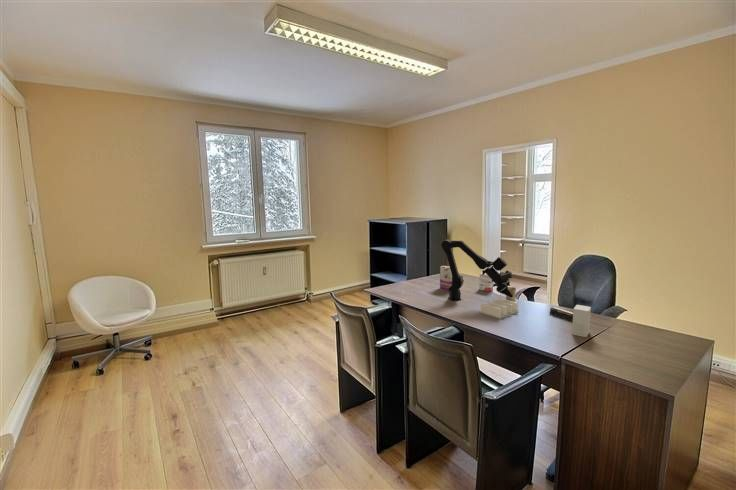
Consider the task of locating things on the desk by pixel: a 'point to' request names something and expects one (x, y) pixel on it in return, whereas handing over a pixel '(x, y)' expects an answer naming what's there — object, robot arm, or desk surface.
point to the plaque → (512, 291)
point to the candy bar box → (445, 277)
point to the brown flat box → (561, 313)
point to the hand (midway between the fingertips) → (513, 294)
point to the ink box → (485, 282)
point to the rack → (499, 308)
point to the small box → (581, 320)
